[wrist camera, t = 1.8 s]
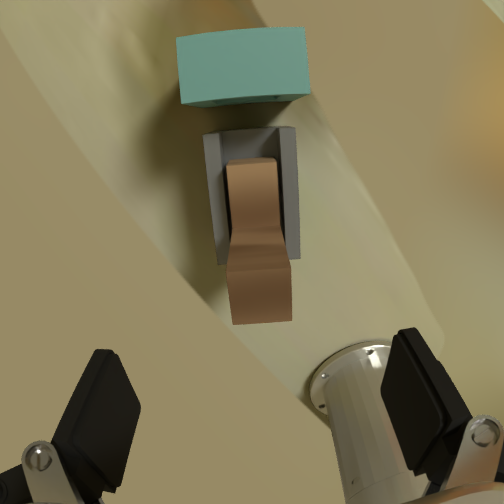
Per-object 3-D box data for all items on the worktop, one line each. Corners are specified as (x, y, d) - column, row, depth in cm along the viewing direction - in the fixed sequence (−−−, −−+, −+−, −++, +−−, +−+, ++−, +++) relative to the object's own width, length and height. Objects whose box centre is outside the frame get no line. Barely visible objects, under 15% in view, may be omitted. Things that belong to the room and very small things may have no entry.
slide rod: (278, 250, 24) (292, 320, 16) (238, 253, 24) (232, 324, 16) (273, 156, 21) (287, 181, 13) (229, 159, 22) (215, 186, 13)
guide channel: (291, 233, 27) (300, 258, 23) (223, 238, 27) (217, 264, 23) (286, 125, 24) (295, 127, 19) (212, 131, 24) (202, 134, 19)
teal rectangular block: (292, 101, 23) (310, 93, 16) (202, 108, 23) (181, 103, 16) (288, 53, 21) (304, 27, 14) (198, 60, 21) (176, 37, 14)
